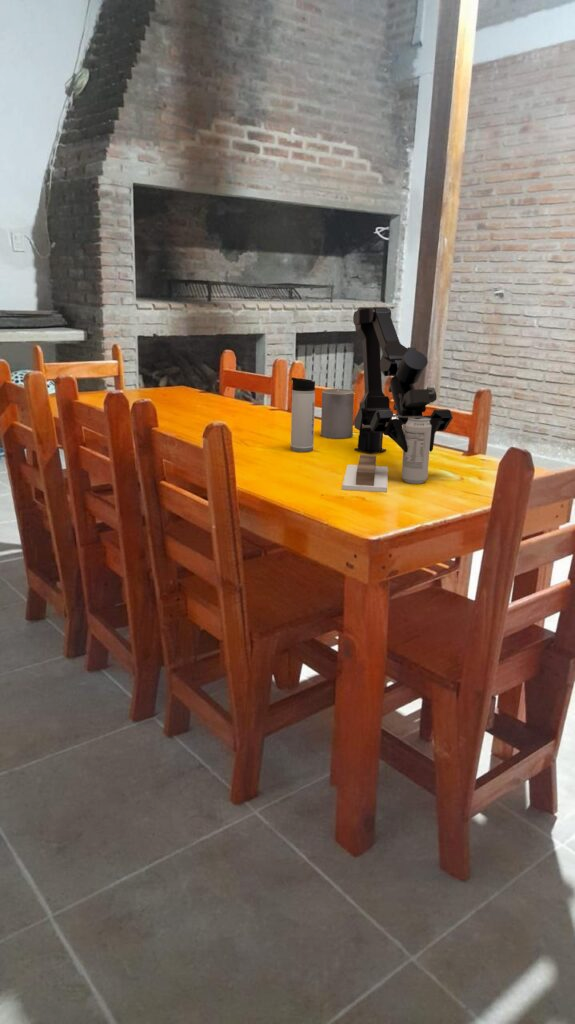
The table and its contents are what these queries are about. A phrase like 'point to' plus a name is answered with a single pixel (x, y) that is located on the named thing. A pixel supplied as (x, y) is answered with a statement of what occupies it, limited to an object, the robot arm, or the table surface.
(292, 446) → the travel mug
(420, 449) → the energy drink can
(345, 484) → the ridge base plate
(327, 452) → the table surface
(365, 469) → the walnut ridge
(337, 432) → the pillar candle
